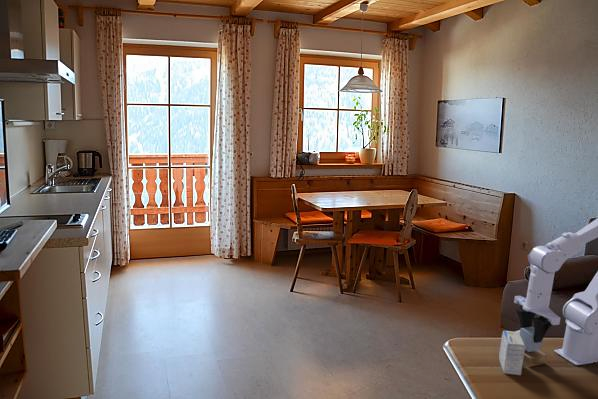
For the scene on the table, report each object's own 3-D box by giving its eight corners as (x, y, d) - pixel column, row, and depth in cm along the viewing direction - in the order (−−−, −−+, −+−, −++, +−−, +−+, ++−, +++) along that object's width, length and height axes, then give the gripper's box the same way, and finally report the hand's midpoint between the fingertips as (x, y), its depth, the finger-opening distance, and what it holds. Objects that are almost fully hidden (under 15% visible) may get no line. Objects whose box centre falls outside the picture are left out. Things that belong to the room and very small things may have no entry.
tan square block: (526, 353, 149) (528, 344, 148) (544, 364, 143) (546, 354, 143) (510, 357, 146) (512, 347, 146) (528, 368, 141) (529, 358, 140)
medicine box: (520, 376, 136) (526, 345, 134) (502, 373, 137) (507, 343, 135) (515, 361, 144) (519, 332, 142) (497, 358, 144) (502, 329, 143)
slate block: (529, 343, 146) (532, 326, 145) (540, 350, 143) (543, 333, 142) (517, 344, 145) (520, 328, 144) (528, 351, 141) (531, 334, 140)
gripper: (508, 282, 146) (501, 327, 149) (548, 303, 132) (539, 352, 135) (528, 280, 148) (521, 324, 151) (569, 301, 135) (560, 349, 138)
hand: (531, 337), depth 143 cm, fingers closed on slate block, 4 cm apart
